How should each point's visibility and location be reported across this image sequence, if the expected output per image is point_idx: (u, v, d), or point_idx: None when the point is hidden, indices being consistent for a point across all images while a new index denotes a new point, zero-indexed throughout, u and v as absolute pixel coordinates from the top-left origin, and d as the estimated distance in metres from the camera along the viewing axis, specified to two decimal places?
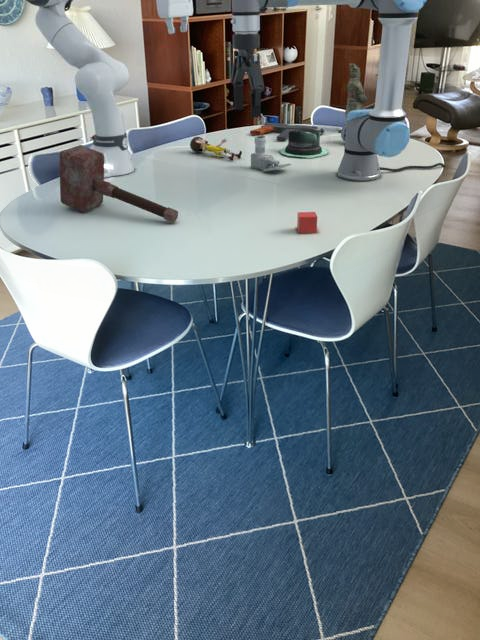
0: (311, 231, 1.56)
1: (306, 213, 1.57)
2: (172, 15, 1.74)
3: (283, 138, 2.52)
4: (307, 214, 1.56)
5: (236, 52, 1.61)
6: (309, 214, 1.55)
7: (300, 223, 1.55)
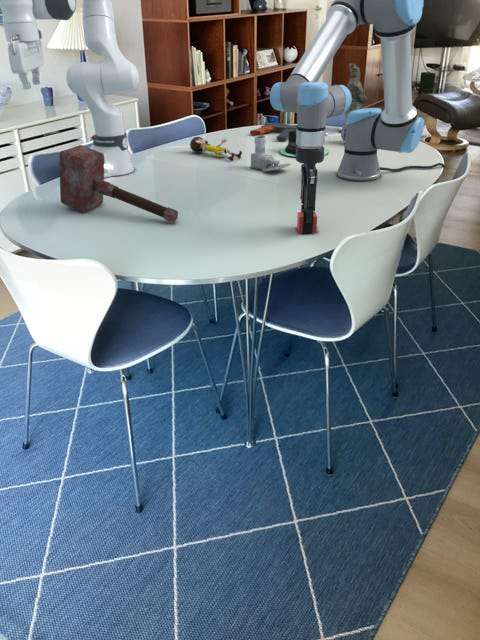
0: None
1: None
2: None
3: (283, 138, 2.52)
4: None
5: None
6: None
7: (300, 223, 1.55)
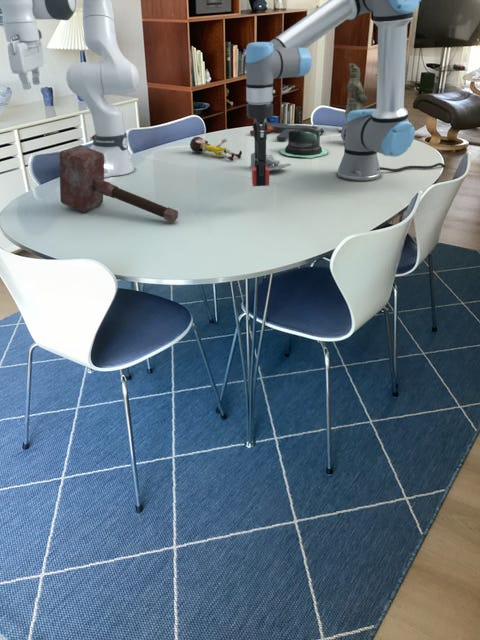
0: None
1: None
2: None
3: (283, 138, 2.52)
4: None
5: None
6: None
7: (253, 177, 1.67)
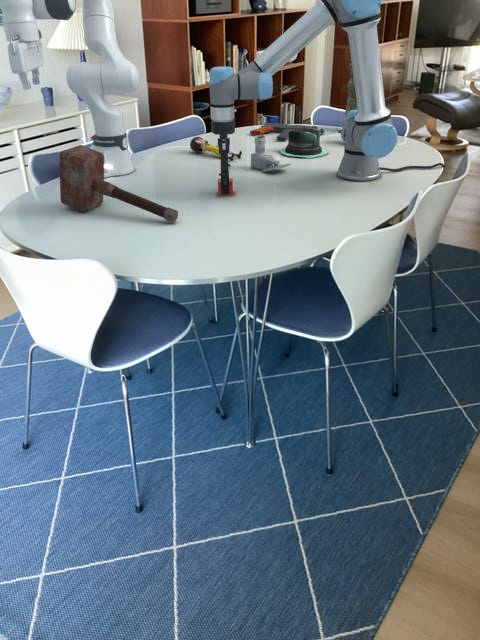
0: (228, 194, 1.87)
1: None
2: None
3: (283, 138, 2.52)
4: None
5: None
6: None
7: (219, 187, 1.85)
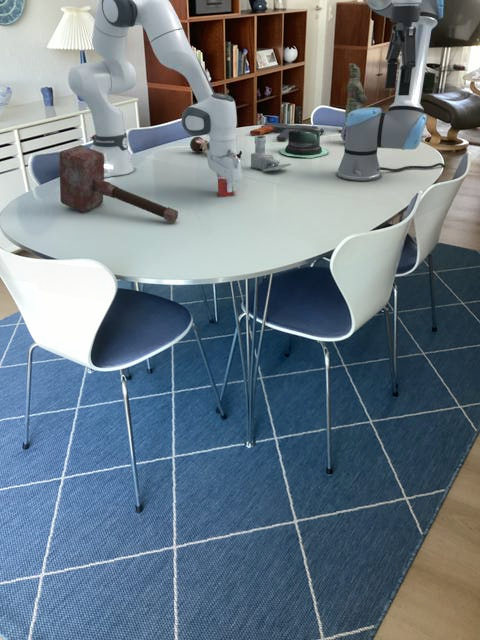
0: (228, 194, 1.87)
1: (224, 179, 1.87)
2: (211, 169, 1.90)
3: (283, 138, 2.52)
4: (225, 180, 1.86)
5: None
6: None
7: (219, 187, 1.85)
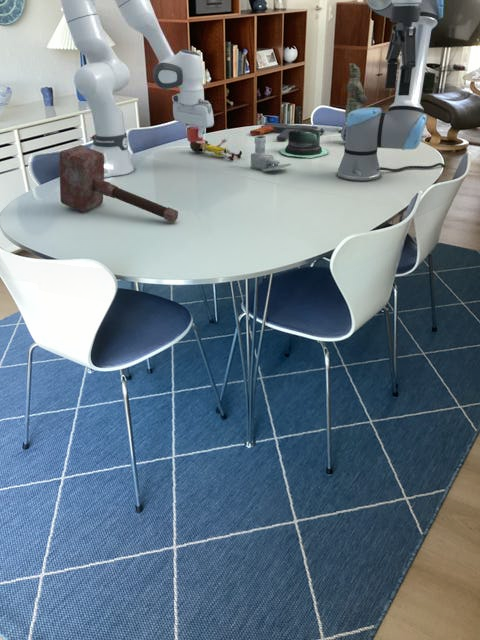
0: (199, 140, 2.14)
1: (193, 127, 2.14)
2: (178, 120, 2.15)
3: (283, 138, 2.52)
4: (194, 128, 2.13)
5: None
6: (196, 127, 2.13)
7: (190, 134, 2.12)
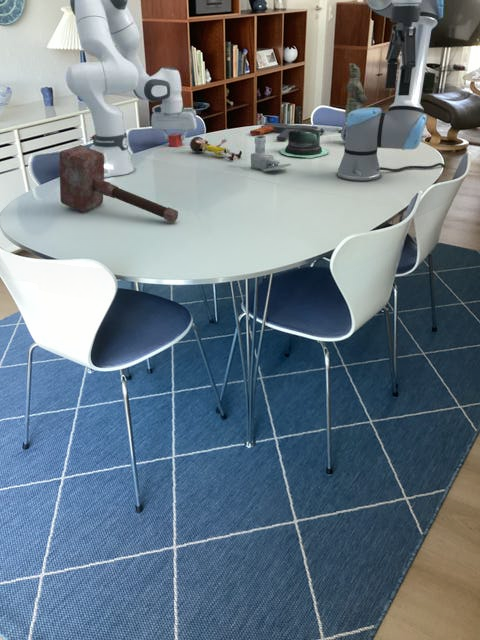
0: (180, 144, 2.51)
1: (173, 134, 2.49)
2: (158, 128, 2.47)
3: (283, 138, 2.52)
4: (175, 134, 2.49)
5: None
6: (176, 134, 2.49)
7: (176, 140, 2.48)
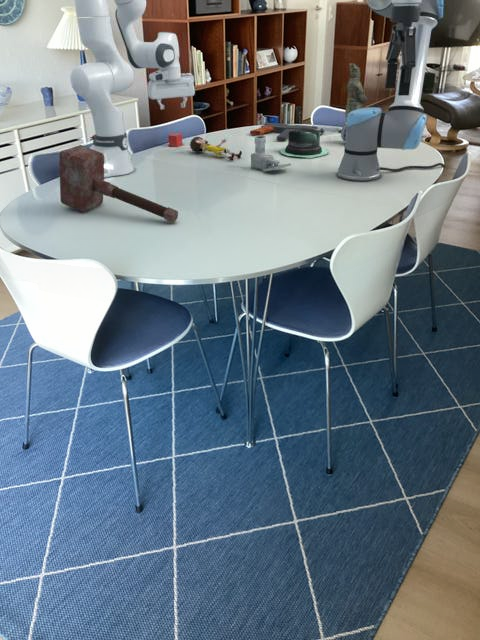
0: (180, 144, 2.51)
1: (173, 134, 2.49)
2: (157, 97, 2.37)
3: (283, 138, 2.52)
4: (175, 134, 2.49)
5: None
6: (176, 134, 2.49)
7: (176, 140, 2.48)
